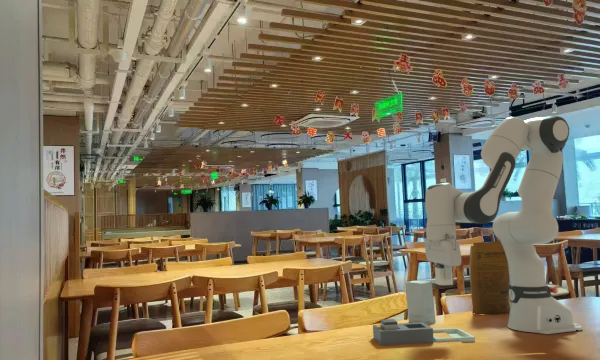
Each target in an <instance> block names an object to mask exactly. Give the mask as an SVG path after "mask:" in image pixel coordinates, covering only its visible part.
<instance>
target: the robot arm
mask: <svg viewBox="0 0 600 360" xmlns="http://www.w3.org/2000/svg"><path fill="white" fill-rule="evenodd" d="M569 136H570V127H569V124H568V122H567V121H566V119H565V118H563V117H561V116H559V115H548V116H540V117H539V116H538V117H532V118H529V119H526V120H524V119H521V118H519V117H516V116H509V117H507V118H504V119H503V120H502V121H500V123H499V124H497V126H496V128H495V129H493V131H492V132H491V134H490V135H489V136H488V138H487V140H485V143H483V146H482V149H481V152H480V156H481V159H482V162H483V163H484V164H485V166H487V168H489V169H490V171H489V173H488V175H487V177H486V179H485V181H484V182H483V185H482V186H481V187H479V188H478V189H477V190H475V191H470V192H464V191H462V190H460V189H457V188H456V187H454V186H453V185H452V184H451V183H450V182H441V183H435V184H432V185H430V186H428V187H427V188H426V191H425V197H424V198H425V199H424V201H425V202H424V203H425V213H426V218H427V219H426V229H425V231H423V232H422V238H423V240H424V249H425V251H424V252H425V256H426V260H427V261H428V262H431V263H434V266H435V265H438V264H444V268H445V273H444V279H451V272H452V273H453V267H458V266H459V267H460V266H461V265H462V254H461V253H462V252H461V247H460V242H459V241H458V240H457V231H456V229H457V228H456V222H457V223H466V224H467V223H468V224H480V225H487V224H490V223H491V222H492V221H493V222H492V231H493V234H494V235H495V237H496V238H497V239H498V241H500V242H501V244H502V246H503V249H504V251H505V254H506V257H507V261H508V269H509V305H510V313H508V314H509V315H508V316H509V317H508V321H507V325H506V327H508V328H509V329H511V330H515V331H519V332H525V333H526V332H527V333H535V334H540V335H552V334H559V333H567V332H568V333H569V332H577V331H576V330H578V331H582V330H583V327H582V325H580V324H579V323H577V322H574V317H573V314H572V311H571V309H569V308H568V307H567V306H565V305H564V304H563V303H561V302H560V301H559V300H557V299H556V298H554V297H553V296H552V294H555V295H556V294H558V292H559V289H558V288H557V287H556V286H549V285H547V284H546V283H547V282H546V269H545V262H544V261H543V259H542V258H541V257H540V256H539V255H538V252H536V249H535V246H534V245H543V244H547V243H549V242H552V241H554V240H555V239H556V238H557V236H558V233H559V223H558V221H557V219H556V218H555V217H554V215H553V201H554V196H555V193H556V190H557V187H558V184H559V181H560V178H561V174H562V169H563V162H564V154H563V152H562V150H563V149H564V148H565V146H566V143H567V141H568V139H569ZM524 151H529V153H530V157H529V161H528V163H527V165H526V166H525V170H524V173H523V175H522V178H521V181H520V184H519V187H518V189H517V192H518V196H519V197H520V198H521V207H520V209H519V211H508V212H505V213H502V214H499V210H500V205H501V199H502V197H503V195H504V192H505V190H506V189H507V187H508V184H509V182H510V179H511V178H512V175H513V173H514V170H515V168H516V160H517V157H518V156H519V154H520V153H521V152H524ZM498 214H499V215H498ZM497 215H498V216H497ZM581 329H582V330H581Z"/></svg>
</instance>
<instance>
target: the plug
mask: <svg viewBox="0 0 600 360" xmlns="http://www.w3.org/2000/svg"><path fill="white" fill-rule="evenodd" d="M444 273H445V268H444V264H438V265H435V264H434V274H435V275H434V278H435V284H436V285H438V286H453V285H454V279H453V271H452V272H451V279H444Z"/></svg>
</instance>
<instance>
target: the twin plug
mask: <svg viewBox="0 0 600 360" xmlns="http://www.w3.org/2000/svg"><path fill="white" fill-rule="evenodd" d="M380 324H381V329H383V330H390V329H398V325H397V324H398V321H397V320H396V319H394V318H389V319H386V318H385V319H380Z"/></svg>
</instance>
